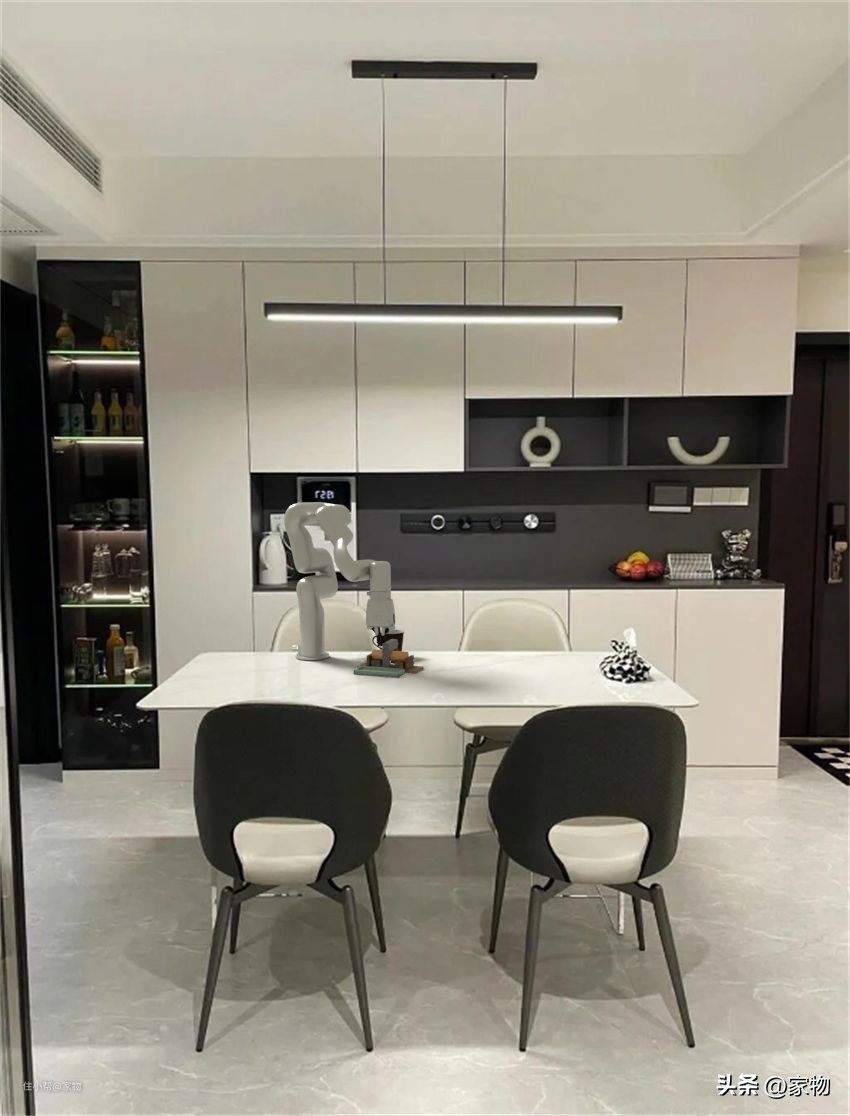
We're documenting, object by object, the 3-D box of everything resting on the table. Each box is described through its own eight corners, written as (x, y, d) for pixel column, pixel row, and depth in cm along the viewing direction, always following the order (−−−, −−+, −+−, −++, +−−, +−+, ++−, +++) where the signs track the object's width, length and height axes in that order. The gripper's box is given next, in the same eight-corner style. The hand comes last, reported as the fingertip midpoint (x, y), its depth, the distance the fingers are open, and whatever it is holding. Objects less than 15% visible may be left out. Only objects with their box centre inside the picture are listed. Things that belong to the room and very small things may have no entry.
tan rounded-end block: (371, 660, 284) (371, 650, 283) (375, 658, 287) (375, 648, 287) (405, 662, 279) (405, 652, 279) (408, 660, 283) (408, 650, 282)
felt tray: (353, 674, 276) (353, 669, 276) (360, 670, 282) (360, 665, 282) (398, 677, 270) (398, 673, 270) (405, 673, 277) (405, 669, 276)
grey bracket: (382, 668, 280) (382, 643, 279) (391, 662, 288) (391, 638, 287) (388, 668, 279) (388, 643, 278) (397, 663, 287) (397, 639, 286)
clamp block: (357, 669, 284) (356, 655, 283) (365, 664, 291) (364, 651, 290) (416, 673, 276) (416, 659, 276) (423, 669, 283) (423, 655, 283)
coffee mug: (406, 655, 307) (406, 630, 306) (400, 659, 299) (400, 634, 298) (378, 653, 310) (378, 628, 309) (371, 658, 302) (371, 632, 301)
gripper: (357, 596, 281) (358, 646, 283) (396, 597, 276) (396, 648, 278) (365, 593, 288) (366, 642, 290) (403, 594, 283) (404, 644, 285)
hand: (381, 645), depth 284 cm, fingers closed
